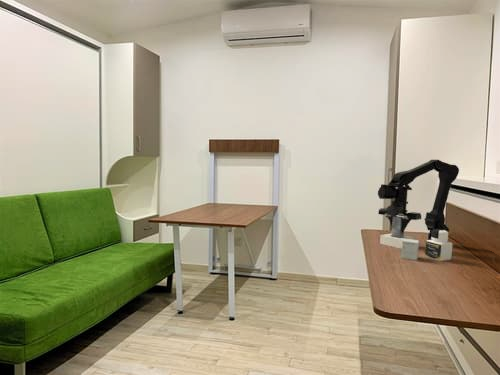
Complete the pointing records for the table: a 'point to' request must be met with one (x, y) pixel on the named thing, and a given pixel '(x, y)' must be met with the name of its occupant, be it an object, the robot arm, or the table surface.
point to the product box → (410, 249)
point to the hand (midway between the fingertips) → (397, 231)
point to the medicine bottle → (438, 246)
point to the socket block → (393, 240)
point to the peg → (397, 227)
